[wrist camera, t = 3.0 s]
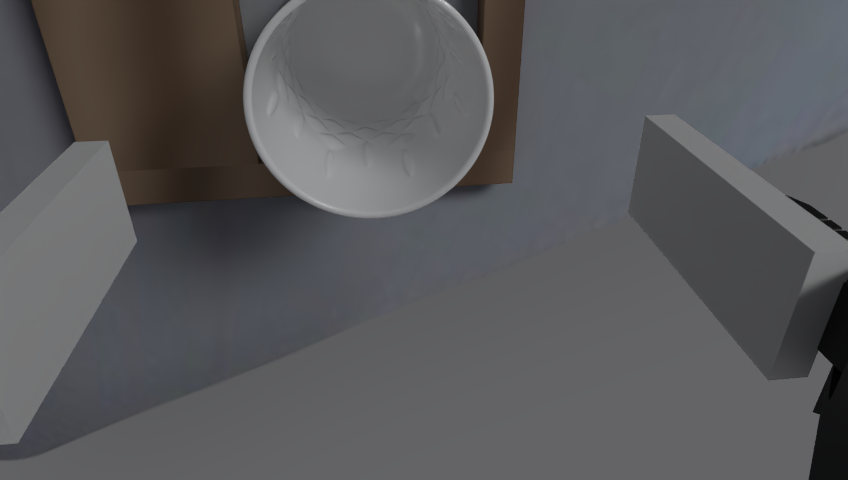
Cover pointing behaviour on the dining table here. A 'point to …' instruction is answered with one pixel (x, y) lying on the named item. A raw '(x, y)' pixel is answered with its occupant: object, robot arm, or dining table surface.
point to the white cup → (368, 102)
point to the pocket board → (211, 93)
